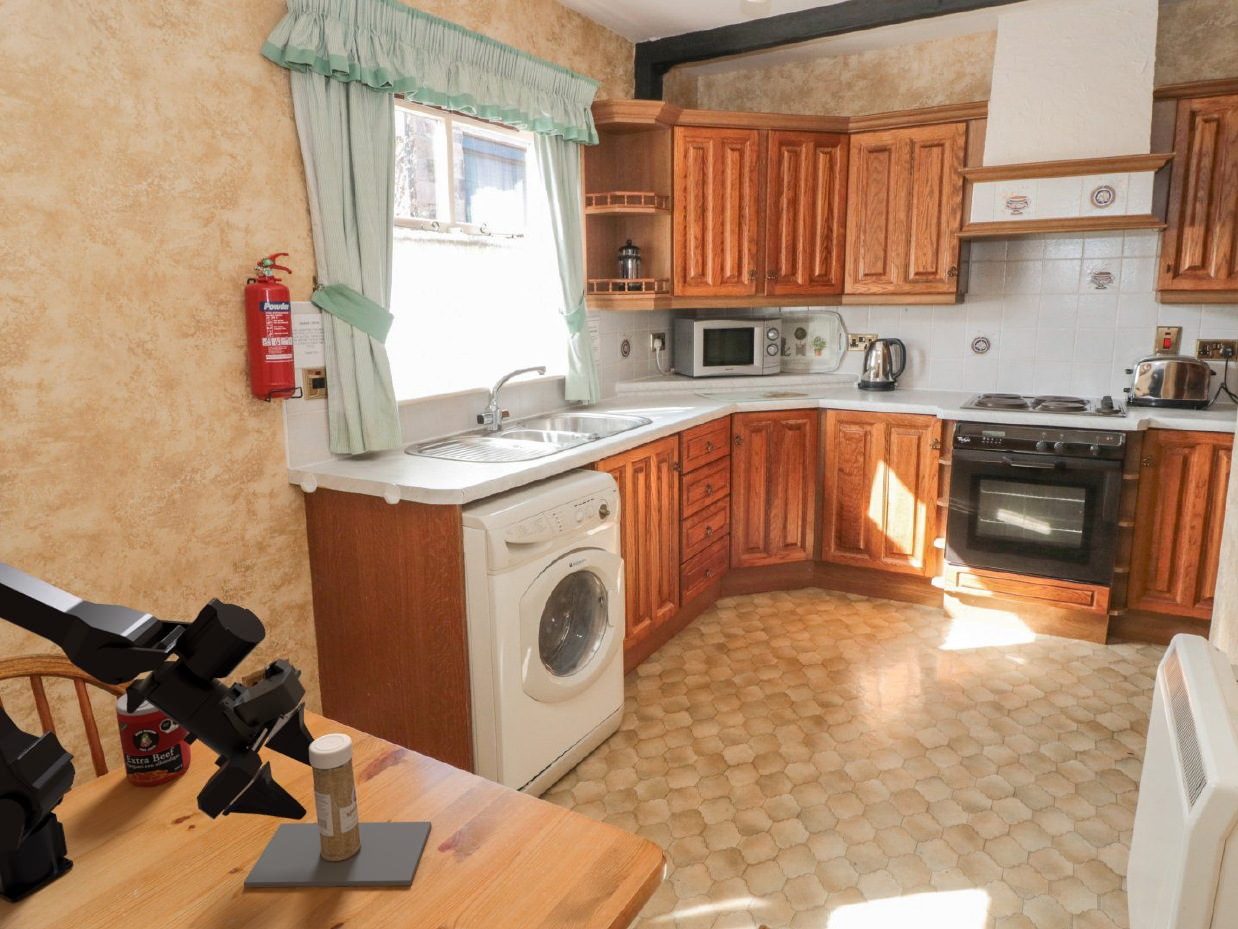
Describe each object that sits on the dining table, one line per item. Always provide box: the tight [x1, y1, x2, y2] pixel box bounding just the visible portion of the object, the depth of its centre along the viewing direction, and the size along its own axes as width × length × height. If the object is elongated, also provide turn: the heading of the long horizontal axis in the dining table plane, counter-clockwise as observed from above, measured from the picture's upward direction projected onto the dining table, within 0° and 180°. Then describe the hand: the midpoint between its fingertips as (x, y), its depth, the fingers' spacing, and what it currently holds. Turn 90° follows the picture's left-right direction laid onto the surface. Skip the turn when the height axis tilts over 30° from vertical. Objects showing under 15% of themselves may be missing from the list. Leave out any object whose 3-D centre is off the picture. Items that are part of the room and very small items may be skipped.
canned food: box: [115, 693, 192, 788], centre depth 110 cm, size 8×8×11 cm
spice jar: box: [309, 733, 362, 861], centre depth 93 cm, size 5×5×14 cm
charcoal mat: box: [243, 821, 432, 888], centre depth 94 cm, size 18×10×1 cm, turn 90°
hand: (315, 790), depth 92 cm, fingers open, 9 cm apart
